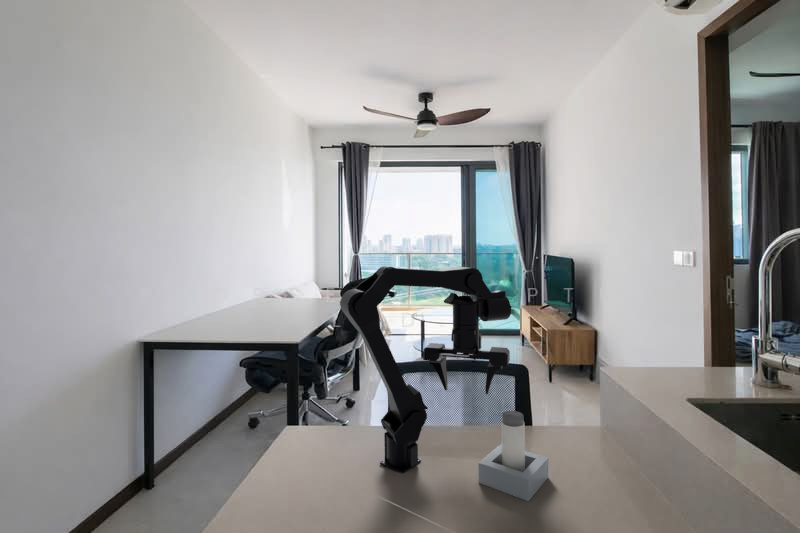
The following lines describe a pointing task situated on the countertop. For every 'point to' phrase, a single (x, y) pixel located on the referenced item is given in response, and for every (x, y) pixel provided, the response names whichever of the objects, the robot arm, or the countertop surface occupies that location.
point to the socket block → (514, 474)
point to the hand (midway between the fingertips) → (466, 391)
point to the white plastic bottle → (513, 440)
